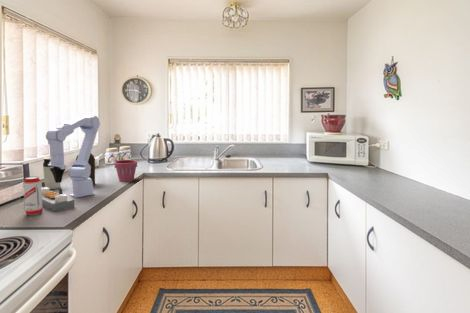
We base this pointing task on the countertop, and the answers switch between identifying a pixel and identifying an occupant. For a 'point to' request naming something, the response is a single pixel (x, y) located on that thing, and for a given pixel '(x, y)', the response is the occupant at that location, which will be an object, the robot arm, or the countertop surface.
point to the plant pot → (125, 169)
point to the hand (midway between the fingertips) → (58, 182)
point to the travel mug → (49, 175)
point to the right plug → (60, 196)
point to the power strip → (56, 203)
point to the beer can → (33, 195)
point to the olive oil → (92, 164)
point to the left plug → (44, 190)
